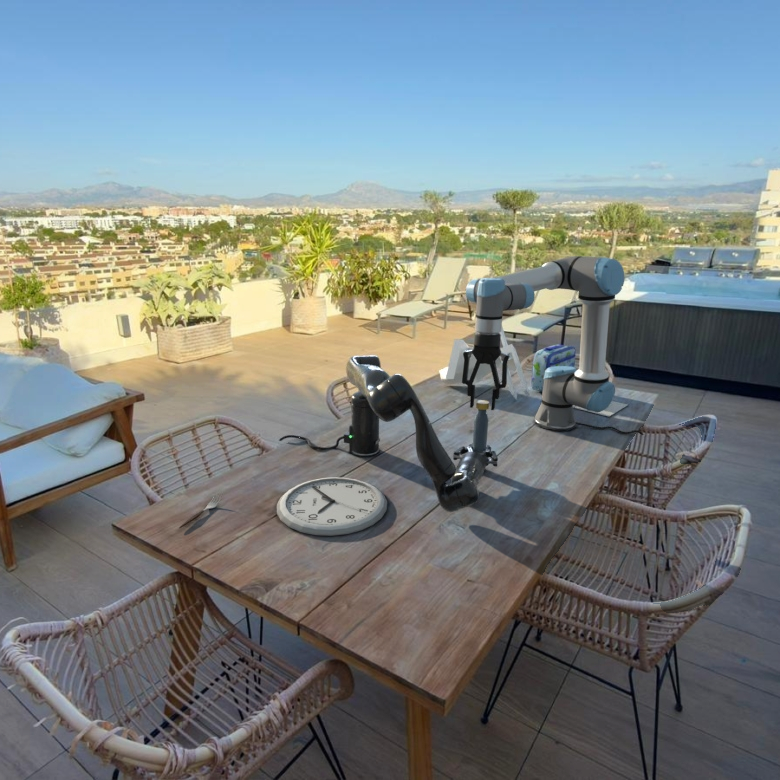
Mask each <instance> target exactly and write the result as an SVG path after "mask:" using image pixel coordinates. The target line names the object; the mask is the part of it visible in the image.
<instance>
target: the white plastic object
mask: <svg viewBox="0 0 780 780" xmlns="http://www.w3.org/2000/svg"><path fill="white" fill-rule="evenodd" d="M500 335H501V339H500V342H501V345H502V347H500V350H501V352H502V353H504V354H509V355H510V357H509V359H508V361H510V360H513V363H514V366H515V369H516V372H517V376H518V380H519V382H520V385H521V389H522V391H523V393H524V395H525V396H526V397H528V396H531V395H530V390H529V388H528V387H529V386H528V384H527V381H526V378H525V375H524V371H523V369H522V368H523V367H522V366H521V362H520V359H519V355H518V352H517V349H516V347H515V346H514V345H513V343H511V344H508V341H507V337H506V334H505V331H504V328H503V326H502V327H501V332H500ZM473 347H474V346H469V345H468V343H466V342H465V340H464V339H463V338H460V339H458V338H454V340H453V344H452V349H451V353H450V357H449V362H448V366H446V367H444V368H442V369H440V370H439V371H438V372H439V376H440V381H442V383H443V384H444V385H445V386H449V385H458V384H463V383H462V377H463V368H464V356H463V353H464V351H466V350H467V351H470V350H472V349H473ZM476 361H477V360H476V358H475V357H474V355H473V354H471V357H470V360H469V369H468V378H467V379H468V380H470V377H471V374H472V372H473V369H474V367H475V364H476ZM495 362H496V368H497V369H498V368H499V367H500V366H502V363H503V361H502V360H501V356H499V357H498V358H497V360H496V361H495ZM490 373H492V370H491V367H490V364H480V366H479V369H478V371H477V374H476V376H475V379H474V381H473V384H477V383H480V382H482V381H484V378H485V377H486V376H487V375H489V374H490ZM507 386H508V390H509V393H510V394H511V395H512V397H513V398H514V399H515V400H517V392H516V391H517V390H516V388H515V385H514V381H513V378H512V375H511V371H510V369H509V365H508V364H507Z"/></svg>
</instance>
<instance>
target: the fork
mask: <svg viewBox="0 0 780 780" xmlns="http://www.w3.org/2000/svg"><path fill="white" fill-rule="evenodd" d="M222 498H223V495H221V493H220V494H217V493H215V494H214V495H213V497H212V499H211V500H210V502H209V503H208V504H207V505H206V507H205V508H204V509H202V510H200V511H199V512H197V513H195V514H193V515H192V516H191V517H190V518H188V519H187V520H186V521H185V522H184V523H183V524H181V525H180V526H179V527H178V529H182V528H183V527H185V526H186V525H188V524H189V523H191V522H193V521H195V520H196V519H197V518H198V517H200V516H201V515H202V514H203V513H204V512H205V511H207V510H210V509H211V510H212V509H215V508H216V507H217V506H218V505H219V503H220V501H221V499H222Z"/></svg>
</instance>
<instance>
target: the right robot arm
mask: <svg viewBox="0 0 780 780" xmlns="http://www.w3.org/2000/svg"><path fill="white" fill-rule="evenodd" d="M624 284H625V270H624V268H623V265H622V264H621V262H620V261H619V260H617V259H615V258H609V257H606V256H604V257H603V256H582V255H573V256H568V257H563V258H559V259H555V260H551V261H548V262H545V263H544V264H542V266H539V267H534V268H530V269H526V270H522V271H517V272H513V273H509V274H504V275H500V276H496V277H483V278H474V279H471V280H470V281H469V282H468V283H467V284H466V287H465V297H466V299H467V300H468V301H469V302H470V303H474V304H476V309H475V310H476V311H475V323H474V324H475V325H474V330H475V333H474V339H473V346H472V347H473V349H472V350H470V351H467V350H466V351H464V353H463V356H464V368H463V377H462V383H461V384H463V385H465V386H467V390H466V391H467V393H466V395H467V397H470V400H469V404H470V405H469V408H471V409H472V408H474V406H475V395H476V393H475V392H476V384H474V382H473V381H474V379H475V376H476V374H477V371H478V369H479V366H480V364H490V367H491V370H492V372H491V375H492V380H493V384H494V386H493V388H492V395H491V407H490V410H491V411H494V410H495V408H496V400H499V398H500V395H501V394H500V392H501V389H505V388H506V387H507V386H508V384H507V365H508V362H509V360H508V359H509V357H510V355H509V354H504V353H502V352H501V350H500V348H501V335H500V332H501V327H503V315H504V314H503V313H504V311H505V312H506V311H515V310H519V311H521V310H523V309H525V310H526V309H529V308H530V307H531V306H532V305H533V304H534V302H535V296H536V295H535V292H538V291H541V290H550V291H553V290H559V289H560V290H568V291H569V290H570V291H574V292H578V294H577V295H578V296H577V297H578V300H579V301H580V302H581V304H582V309H581V311H582V312H581V327H580V328H581V329H580V343H579V344H580V346H579V362H578V363H579V364H578V368H577V367H575V366H574V367H571V366H555V367H549V368H547V369H546V370H545V375H544V378H543V379H544V381H543V391H541V402H540V405H539V407H538V410H537V411H536V413H535V416H534V424H535V425H536V426H537V427H539V428H542V429H544V430H549V431H556V432H567V431H572V430H574V429H575V428H576V425H577V426H581V427H587V428H592V429H595V430H605V429H611V430H613V431H616V432H617V433H619V434H623V435H631V434H634V433H638V434H640V435H641V436H644V433H643V432H642V431H641V430H638V429H634V430H629V431H623V430H620V429H619V428H617V427H614V426H611V425H605V426H597V425H592V424H588V423H583V422H577V421H576V418H575V417H576V416H575V413H574V407H576V406H578V407H581V408H584V409H587V410H588V411H594V412H601V411H603V410H605V409H606V408H607V407H608V406H609V405H610V403H611V402H612V401H614V397H615V394H616V386H615V384H614V383H613V382H611V381H610V373H609V372H608V371H607V370H606V359H607V358H606V357H607V347H608V346H607V344H608V333H609V332H608V331H609V320H610V319H609V318H610V306H611V305H610V304H611V303H612V302H613V301H614V300H615V299H616V296H617V295H618V294H620V293H621V291H622V290H623V287H624ZM471 354H473V355H474V357H475V358H476V360H477V361H476V364H475V367H474V369H473V372H472V374H471V377H470V380H468V379H467V378H468V369H469V360H470V357H471ZM499 356H501V360H502V361H503V363H501V382H500V377H499V373H498V367H497V368H496V362H495V361H496V360H497V358H498V357H499ZM573 406H574V407H573ZM588 411H587V412H588Z"/></svg>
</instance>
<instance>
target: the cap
mask: <svg viewBox="0 0 780 780" xmlns="http://www.w3.org/2000/svg"><path fill="white" fill-rule="evenodd" d="M475 403H476V404H475V408H476V409H477V410H478V409H480V410H486V411H487V410H488V409H489V407H490V406H489V405H490V402H489V400H486V399H478V400H476V402H475Z"/></svg>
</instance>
